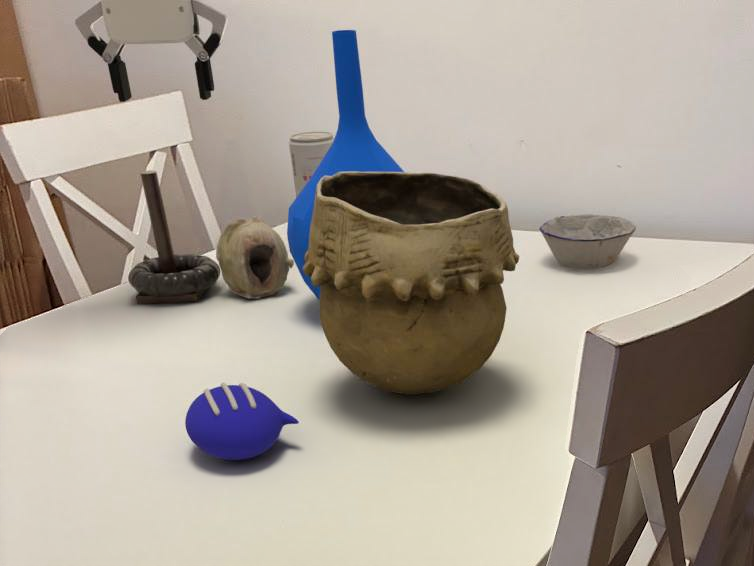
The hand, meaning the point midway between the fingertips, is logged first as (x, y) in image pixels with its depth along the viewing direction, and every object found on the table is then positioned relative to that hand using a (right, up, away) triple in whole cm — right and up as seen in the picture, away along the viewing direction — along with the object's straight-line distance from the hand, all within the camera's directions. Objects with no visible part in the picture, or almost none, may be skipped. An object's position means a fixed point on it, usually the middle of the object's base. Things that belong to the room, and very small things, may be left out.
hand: (165, 99), depth 119 cm
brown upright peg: (-3, -19, +14) cm, 23 cm away
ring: (-3, -17, +12) cm, 21 cm away
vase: (+24, -23, +6) cm, 34 cm away
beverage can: (+14, -6, +31) cm, 34 cm away
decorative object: (+16, -47, -26) cm, 56 cm away
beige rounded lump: (+9, -19, +13) cm, 24 cm away
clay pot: (+31, -39, -15) cm, 52 cm away
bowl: (+53, -12, +19) cm, 57 cm away
